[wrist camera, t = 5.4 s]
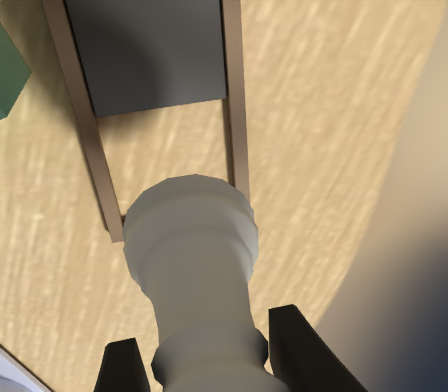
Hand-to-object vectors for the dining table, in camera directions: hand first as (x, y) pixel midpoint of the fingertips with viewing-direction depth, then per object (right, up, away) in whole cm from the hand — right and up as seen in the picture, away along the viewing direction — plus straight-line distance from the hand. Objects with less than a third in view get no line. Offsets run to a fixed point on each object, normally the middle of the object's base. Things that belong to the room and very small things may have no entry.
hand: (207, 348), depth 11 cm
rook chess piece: (-1, +3, +4) cm, 5 cm away
